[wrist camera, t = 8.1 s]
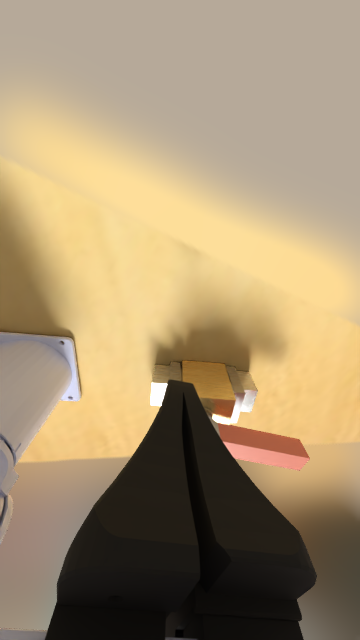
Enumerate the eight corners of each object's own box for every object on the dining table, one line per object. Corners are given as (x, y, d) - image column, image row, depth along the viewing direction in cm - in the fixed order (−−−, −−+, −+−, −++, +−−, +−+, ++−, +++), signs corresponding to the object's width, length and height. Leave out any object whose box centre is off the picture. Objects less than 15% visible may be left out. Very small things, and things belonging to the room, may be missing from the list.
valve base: (153, 390, 23) (146, 437, 18) (155, 358, 21) (147, 399, 16) (241, 397, 24) (258, 444, 19) (250, 365, 22) (272, 408, 17)
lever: (191, 433, 17) (193, 452, 16) (199, 416, 17) (201, 435, 15) (288, 452, 18) (298, 472, 17) (300, 437, 18) (311, 457, 16)
